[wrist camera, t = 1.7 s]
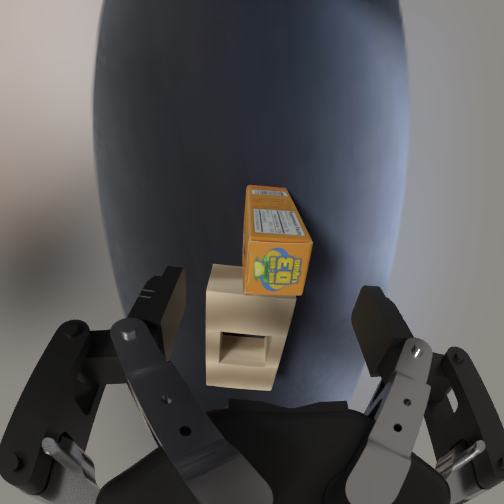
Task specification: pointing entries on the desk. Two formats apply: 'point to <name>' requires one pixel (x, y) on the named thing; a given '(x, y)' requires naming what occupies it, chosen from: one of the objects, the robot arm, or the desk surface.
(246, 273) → the supplement box
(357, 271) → the desk surface
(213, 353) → the socket block
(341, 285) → the desk surface
